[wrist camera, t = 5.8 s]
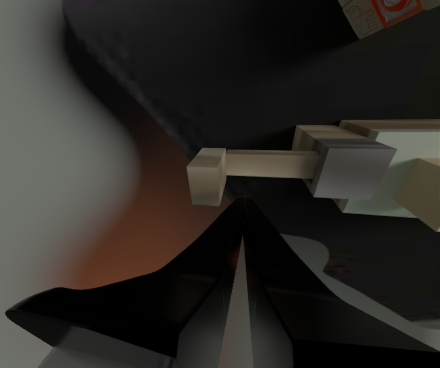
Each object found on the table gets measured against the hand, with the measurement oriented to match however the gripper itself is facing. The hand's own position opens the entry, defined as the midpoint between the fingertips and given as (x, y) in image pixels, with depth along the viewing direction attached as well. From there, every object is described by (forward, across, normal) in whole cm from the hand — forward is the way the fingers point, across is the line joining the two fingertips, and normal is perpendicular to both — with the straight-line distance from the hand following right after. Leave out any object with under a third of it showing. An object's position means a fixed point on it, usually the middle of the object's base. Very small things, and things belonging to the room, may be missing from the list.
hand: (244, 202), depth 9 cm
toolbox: (+13, -13, +2) cm, 18 cm away
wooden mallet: (+7, -1, 0) cm, 7 cm away
